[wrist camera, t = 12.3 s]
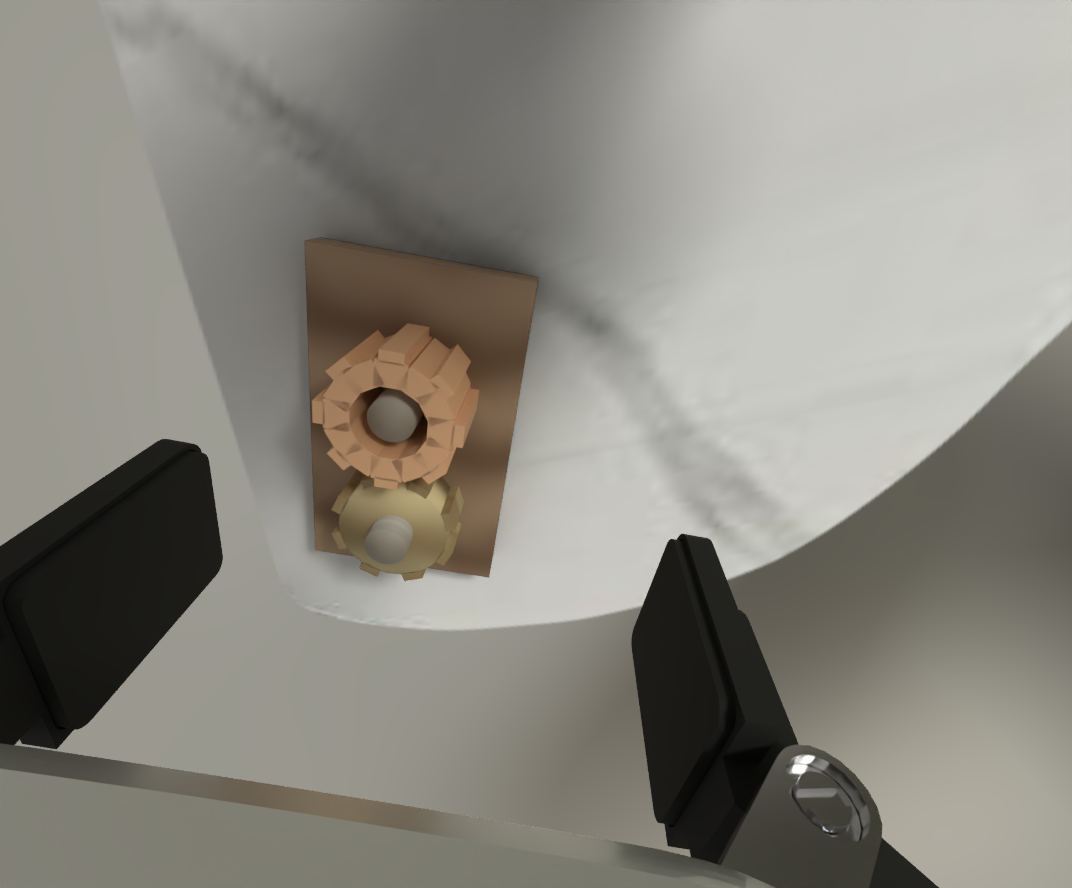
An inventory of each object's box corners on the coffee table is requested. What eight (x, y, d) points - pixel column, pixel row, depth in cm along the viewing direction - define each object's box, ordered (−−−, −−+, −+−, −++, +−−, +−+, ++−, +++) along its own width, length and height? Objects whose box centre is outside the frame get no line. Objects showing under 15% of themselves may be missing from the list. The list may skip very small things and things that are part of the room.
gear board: (320, 237, 28) (258, 250, 22) (538, 277, 28) (533, 300, 22) (327, 532, 37) (283, 597, 31) (492, 558, 37) (479, 627, 31)
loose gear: (350, 312, 28) (310, 337, 23) (486, 337, 28) (472, 365, 23) (349, 434, 31) (314, 476, 26) (470, 455, 31) (456, 500, 27)
